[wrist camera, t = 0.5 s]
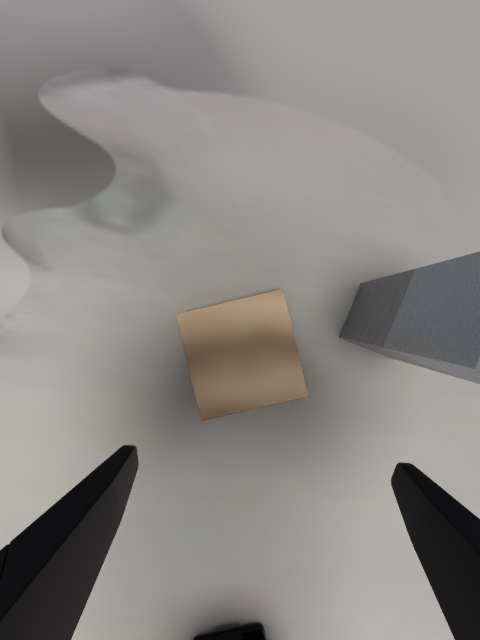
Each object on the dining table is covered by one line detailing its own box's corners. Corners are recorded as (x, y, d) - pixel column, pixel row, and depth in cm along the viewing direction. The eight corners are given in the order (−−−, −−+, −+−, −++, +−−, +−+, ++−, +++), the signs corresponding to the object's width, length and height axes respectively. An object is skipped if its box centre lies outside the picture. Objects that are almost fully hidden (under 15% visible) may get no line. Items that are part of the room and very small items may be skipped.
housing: (392, 358, 22) (605, 421, 9) (339, 337, 22) (474, 369, 9) (415, 304, 22) (663, 290, 9) (360, 283, 22) (530, 237, 9)
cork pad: (304, 390, 22) (308, 396, 21) (204, 413, 22) (201, 420, 21) (280, 290, 22) (283, 288, 21) (180, 314, 22) (175, 314, 21)
